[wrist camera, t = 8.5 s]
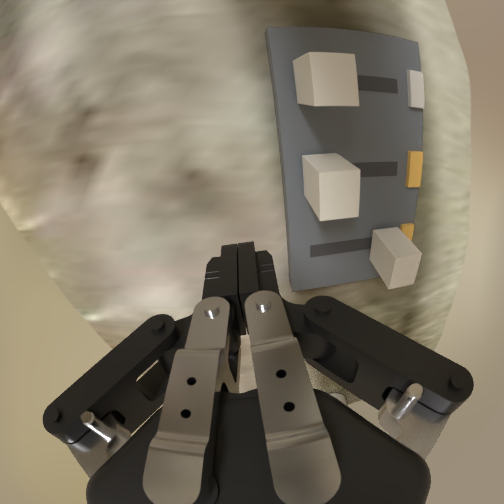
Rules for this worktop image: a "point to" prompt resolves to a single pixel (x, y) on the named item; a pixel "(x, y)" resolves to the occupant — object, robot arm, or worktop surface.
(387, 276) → the slider
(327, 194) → the slider middle
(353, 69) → the slider
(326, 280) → the switch board
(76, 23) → the worktop surface
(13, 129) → the worktop surface
